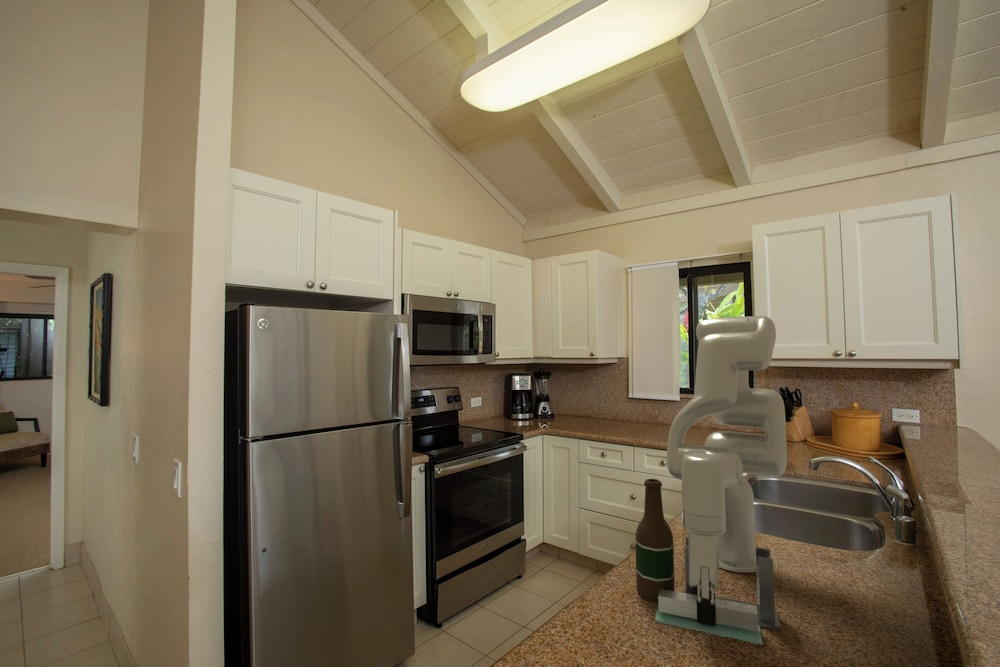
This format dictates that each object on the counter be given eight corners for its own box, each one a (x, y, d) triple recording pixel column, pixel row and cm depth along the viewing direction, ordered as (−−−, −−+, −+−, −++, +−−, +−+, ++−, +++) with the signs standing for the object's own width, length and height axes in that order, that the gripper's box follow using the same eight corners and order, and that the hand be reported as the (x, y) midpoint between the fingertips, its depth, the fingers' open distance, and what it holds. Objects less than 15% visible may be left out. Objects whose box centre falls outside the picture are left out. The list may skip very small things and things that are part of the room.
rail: (660, 604, 92) (659, 588, 92) (757, 622, 85) (756, 605, 85) (658, 611, 89) (658, 595, 89) (758, 631, 82) (757, 614, 82)
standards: (683, 593, 98) (682, 534, 98) (775, 611, 91) (773, 548, 91) (681, 610, 92) (680, 547, 92) (780, 631, 85) (778, 562, 85)
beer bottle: (677, 605, 93) (675, 486, 94) (638, 601, 95) (635, 484, 96) (671, 586, 101) (669, 476, 102) (635, 583, 103) (632, 474, 104)
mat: (658, 605, 93) (658, 603, 93) (759, 626, 86) (759, 624, 86) (655, 621, 88) (655, 619, 88) (762, 645, 81) (762, 643, 81)
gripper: (684, 504, 97) (686, 593, 96) (680, 532, 82) (683, 638, 81) (724, 509, 94) (726, 601, 93) (727, 539, 79) (730, 649, 78)
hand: (706, 617), depth 87 cm, fingers closed on rail, 3 cm apart
